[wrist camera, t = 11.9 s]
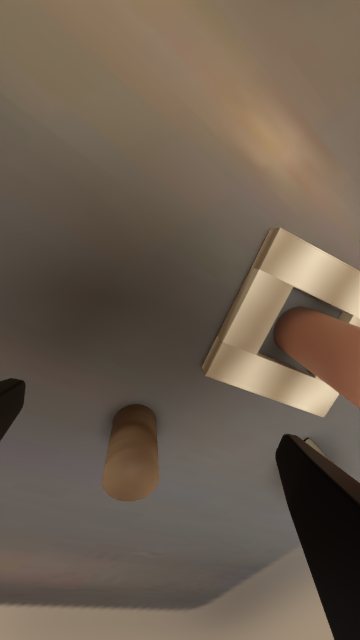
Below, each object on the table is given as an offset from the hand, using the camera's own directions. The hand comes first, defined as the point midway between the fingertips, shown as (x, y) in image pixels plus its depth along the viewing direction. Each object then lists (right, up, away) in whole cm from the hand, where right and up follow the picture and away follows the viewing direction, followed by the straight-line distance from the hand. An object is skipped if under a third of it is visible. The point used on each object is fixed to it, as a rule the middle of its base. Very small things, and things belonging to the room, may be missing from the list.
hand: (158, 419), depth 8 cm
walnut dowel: (-4, -6, +15) cm, 17 cm away
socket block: (+11, +3, +14) cm, 18 cm away
